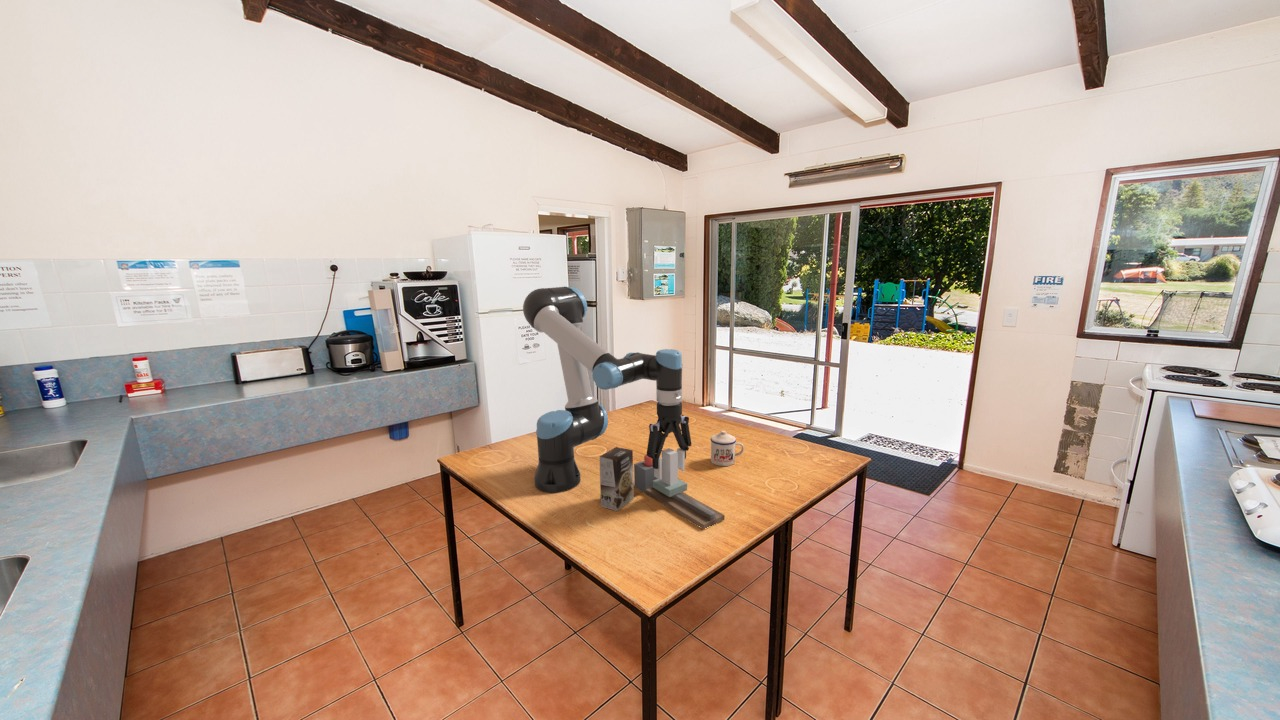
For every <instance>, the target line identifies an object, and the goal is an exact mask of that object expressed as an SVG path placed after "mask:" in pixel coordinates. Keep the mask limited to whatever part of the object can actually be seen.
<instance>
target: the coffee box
mask: <svg viewBox="0 0 1280 720" xmlns="http://www.w3.org/2000/svg"><path fill="white" fill-rule="evenodd" d="M633 454H634V452H633V449H628V448H623V447H618V446H616V447H614V448H612V449H611V450H608V451H606V452H605V453H603V454H602V455H599V480H600V481H599V484H600V489H599V490H600V506H601V507H602V508H606V509H609V510H611V511H615V512H618V511H620V510H621V509H622V508H624V507H625V506H626V505H628V504H629V503H630V502H632V501H633V500H634V460H633V459H634V458H633V457H634V455H633Z"/></svg>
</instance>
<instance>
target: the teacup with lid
mask: <svg viewBox="0 0 1280 720" xmlns="http://www.w3.org/2000/svg"><path fill="white" fill-rule="evenodd" d="M736 446H740V447H741V450H740V451H739V452H738V453H737V452H736ZM744 451H745V447H744V444H743V443H741V442H737V438H736V437H735V436H734V435H732V434H729V433H727V431H726V430H720V432H719V433H716V434H713V435H712V436H711V437H710V461H711V463H712V464H713V465H716V466H720V467H728V466H729V467H730V466H733V465H734V464H735V462H736V457H740V456H742V454H743V453H744Z"/></svg>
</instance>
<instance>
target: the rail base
mask: <svg viewBox="0 0 1280 720" xmlns="http://www.w3.org/2000/svg"><path fill="white" fill-rule="evenodd" d="M645 495H647V496H648V497H650V498H651V499H653V500H655V501H656V502H658V503H660V504H662V505H663V506H665V507H666V508H668V510H669V509H670V510H671V511H673V512H674V513H676V514H677V515H679V516H681V517H682V518H684V519H685V518H686V520H687V521H689V522H690V521H691V522H690V523H692V524H693V525H695V524H696V525H695V526H697V525H698V526H700V527H702V528H703V529H705V528H707V527H709V526H711V527H713V526H715V525H717V524H719V523H721V522H720V521H722V520H724V521H725V514H723V513H721V512H720V511H718V510H716V509H714V508H712V507H711V506H709V505H707V504H705V503H704V502H701V501H700V500H698V499H696V498H694V497H692V496H691V495H689V494H687V493H685V491H684V492H681V493H679V494H676V495H674V496H671V497H668V496H667V495H665V494H663V493H662V492H660V491H658V490H657V489H655V488H653V487H651V488H649V489H646V494H645ZM718 522H719V523H718ZM722 522H723V521H722ZM716 523H717V524H716ZM714 524H715V525H714ZM712 525H713V526H712ZM698 526H697V527H698ZM700 527H699V528H700ZM702 528H701V529H702ZM709 528H710V527H709ZM703 529H702V530H703ZM707 529H708V528H707ZM705 530H706V529H705Z"/></svg>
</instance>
